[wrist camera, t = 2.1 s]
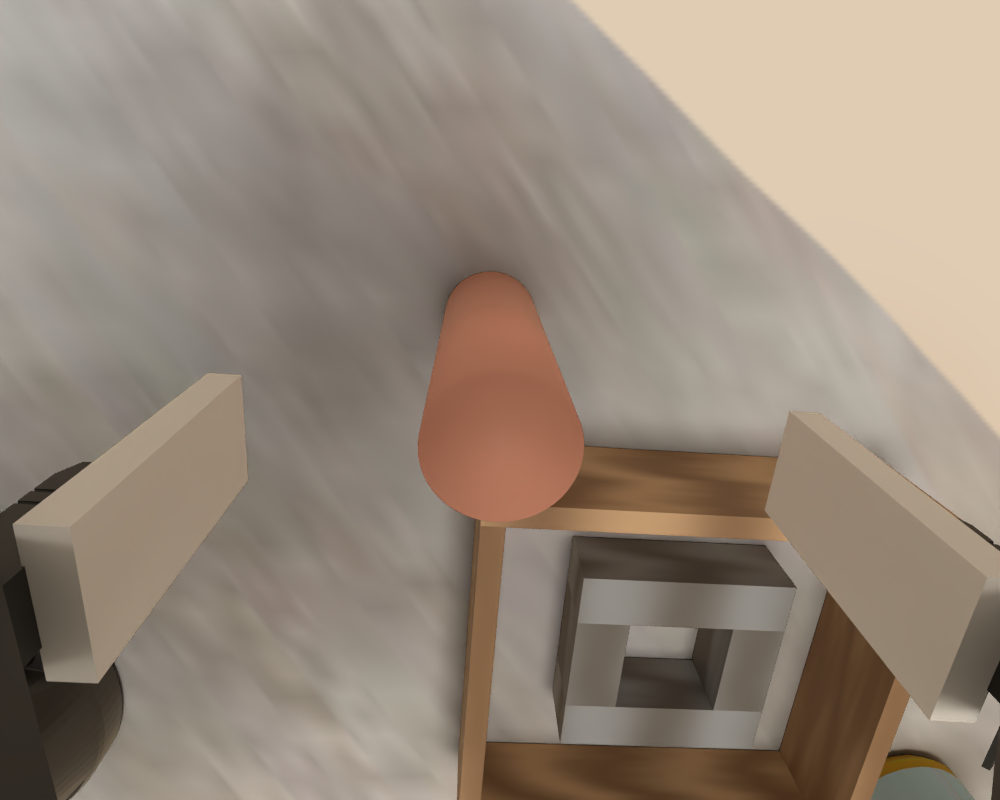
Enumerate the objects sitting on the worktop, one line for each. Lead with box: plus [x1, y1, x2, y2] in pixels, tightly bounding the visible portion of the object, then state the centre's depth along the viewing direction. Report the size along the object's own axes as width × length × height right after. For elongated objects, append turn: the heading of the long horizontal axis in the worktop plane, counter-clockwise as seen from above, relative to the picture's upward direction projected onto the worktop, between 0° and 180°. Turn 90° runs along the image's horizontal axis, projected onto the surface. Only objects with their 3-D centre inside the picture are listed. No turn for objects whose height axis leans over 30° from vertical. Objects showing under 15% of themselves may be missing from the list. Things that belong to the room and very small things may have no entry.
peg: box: [418, 271, 584, 522], centre depth 22 cm, size 4×4×14 cm
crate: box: [457, 446, 960, 800], centre depth 32 cm, size 20×20×6 cm
